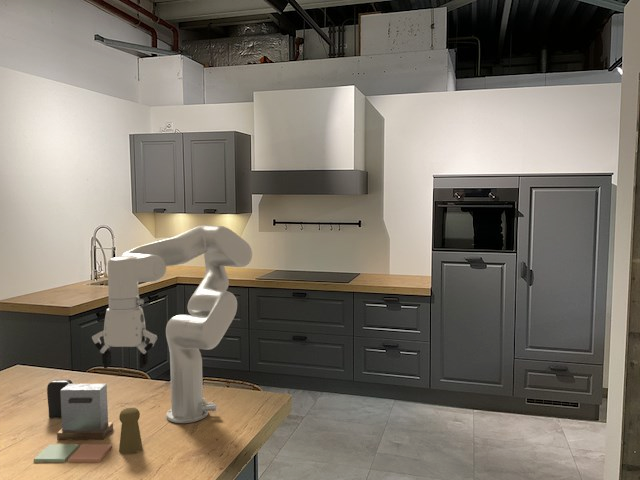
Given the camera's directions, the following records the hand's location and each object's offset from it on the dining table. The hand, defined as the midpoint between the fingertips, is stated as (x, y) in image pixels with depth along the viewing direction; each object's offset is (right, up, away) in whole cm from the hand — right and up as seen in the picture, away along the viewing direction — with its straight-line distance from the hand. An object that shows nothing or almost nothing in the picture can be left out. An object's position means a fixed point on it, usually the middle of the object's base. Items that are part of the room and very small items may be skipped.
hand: (125, 366), depth 145 cm
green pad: (-18, -23, -2) cm, 29 cm away
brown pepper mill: (+1, -23, +1) cm, 23 cm away
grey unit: (-15, -22, +10) cm, 28 cm away
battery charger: (-28, -21, +23) cm, 42 cm away
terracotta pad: (-9, -23, -2) cm, 24 cm away
